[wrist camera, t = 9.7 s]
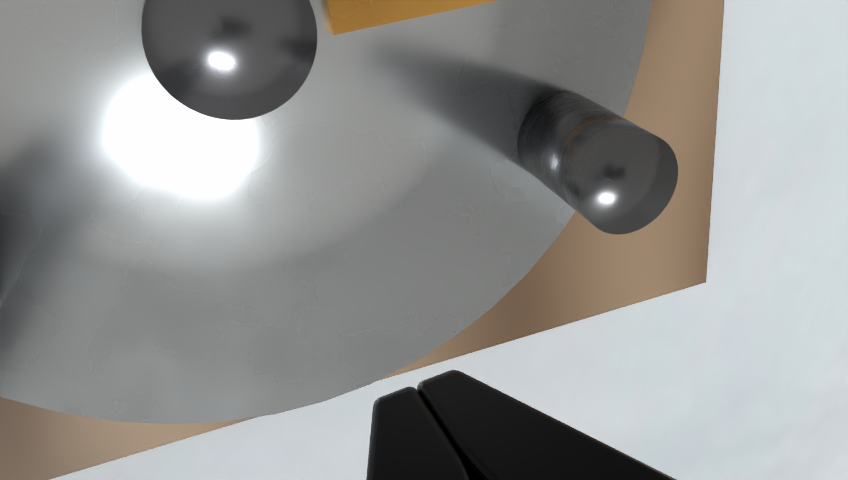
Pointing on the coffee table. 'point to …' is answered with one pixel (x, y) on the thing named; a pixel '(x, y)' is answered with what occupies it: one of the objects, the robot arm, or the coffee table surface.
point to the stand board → (538, 290)
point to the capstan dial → (293, 187)
